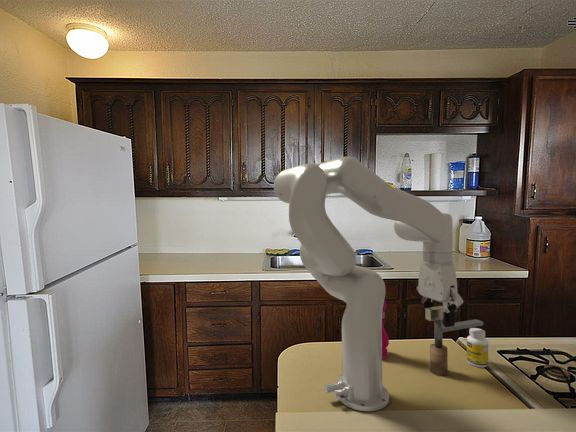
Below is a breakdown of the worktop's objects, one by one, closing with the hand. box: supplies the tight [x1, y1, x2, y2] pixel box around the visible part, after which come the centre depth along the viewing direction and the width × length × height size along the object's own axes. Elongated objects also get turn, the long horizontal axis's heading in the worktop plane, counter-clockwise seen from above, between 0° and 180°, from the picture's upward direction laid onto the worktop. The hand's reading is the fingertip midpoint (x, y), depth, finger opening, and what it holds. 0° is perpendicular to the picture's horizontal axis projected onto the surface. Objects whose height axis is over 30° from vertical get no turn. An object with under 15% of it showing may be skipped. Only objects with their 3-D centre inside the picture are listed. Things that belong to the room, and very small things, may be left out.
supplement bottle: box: [466, 327, 489, 368], centre depth 93 cm, size 5×5×10 cm
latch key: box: [424, 305, 484, 347], centre depth 91 cm, size 18×2×11 cm, turn 108°
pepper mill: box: [382, 299, 390, 360], centre depth 100 cm, size 7×7×20 cm
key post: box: [429, 343, 449, 377], centre depth 89 cm, size 4×4×7 cm
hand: (438, 321), depth 89 cm, fingers open, 6 cm apart
